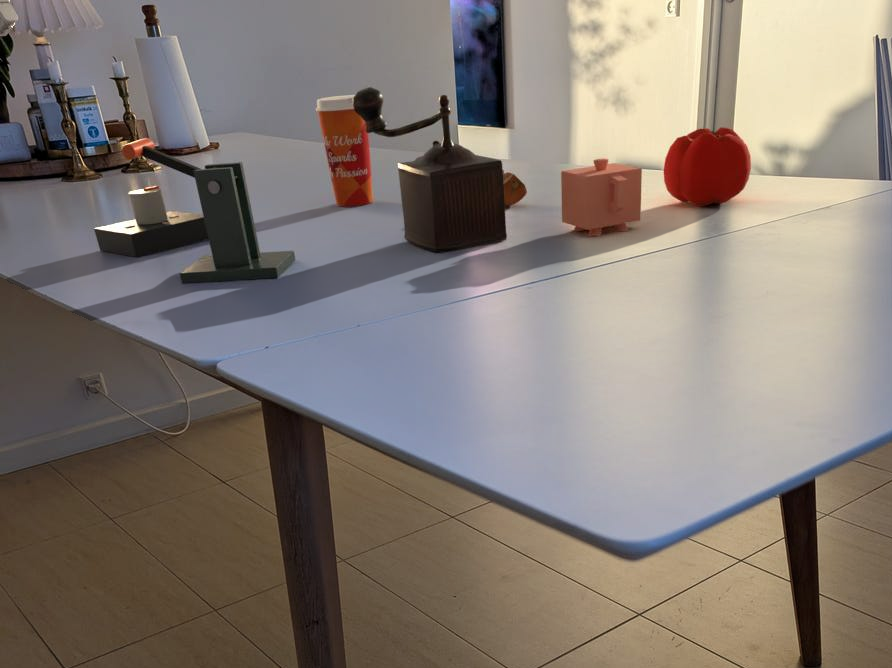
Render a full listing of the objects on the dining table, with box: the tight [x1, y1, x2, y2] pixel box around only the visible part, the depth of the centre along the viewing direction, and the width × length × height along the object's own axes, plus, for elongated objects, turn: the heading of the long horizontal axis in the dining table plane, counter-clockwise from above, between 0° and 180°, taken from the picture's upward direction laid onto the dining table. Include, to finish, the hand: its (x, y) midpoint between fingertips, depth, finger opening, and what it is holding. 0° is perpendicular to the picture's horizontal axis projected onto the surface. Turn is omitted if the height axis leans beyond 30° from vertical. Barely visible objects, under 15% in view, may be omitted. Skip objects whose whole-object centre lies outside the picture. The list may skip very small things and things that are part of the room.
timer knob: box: [128, 185, 168, 225], centre depth 129 cm, size 4×4×4 cm
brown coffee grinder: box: [353, 86, 508, 254], centre depth 114 cm, size 16×11×18 cm
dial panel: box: [93, 210, 209, 258], centre depth 132 cm, size 13×10×3 cm
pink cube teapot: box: [560, 158, 643, 237], centre depth 117 cm, size 8×12×8 cm, turn 23°
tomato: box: [663, 127, 752, 207], centre depth 126 cm, size 11×12×9 cm
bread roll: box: [503, 169, 528, 207], centre depth 136 cm, size 8×7×5 cm
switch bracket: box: [179, 161, 296, 284], centre depth 111 cm, size 12×9×12 cm
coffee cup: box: [315, 94, 374, 208], centre depth 145 cm, size 8×8×15 cm
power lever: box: [121, 137, 238, 183], centre depth 108 cm, size 12×6×2 cm, turn 86°
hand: (7, 28), depth 98 cm, fingers closed
